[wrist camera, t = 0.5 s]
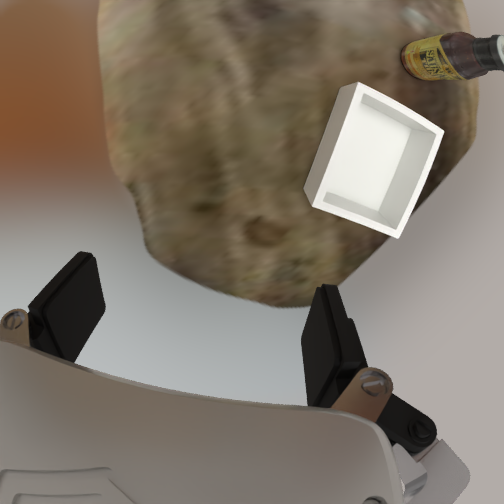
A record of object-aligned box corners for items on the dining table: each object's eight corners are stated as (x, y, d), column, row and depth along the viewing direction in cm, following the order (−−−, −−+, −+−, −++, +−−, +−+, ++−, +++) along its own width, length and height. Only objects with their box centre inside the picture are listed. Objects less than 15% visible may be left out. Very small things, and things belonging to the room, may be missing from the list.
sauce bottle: (392, 60, 30) (477, 39, 12) (410, 36, 27) (494, 9, 9) (423, 90, 31) (515, 93, 14) (439, 65, 29) (529, 60, 11)
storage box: (340, 87, 33) (358, 81, 26) (415, 125, 34) (444, 131, 27) (303, 188, 40) (311, 206, 33) (378, 216, 41) (398, 238, 34)
